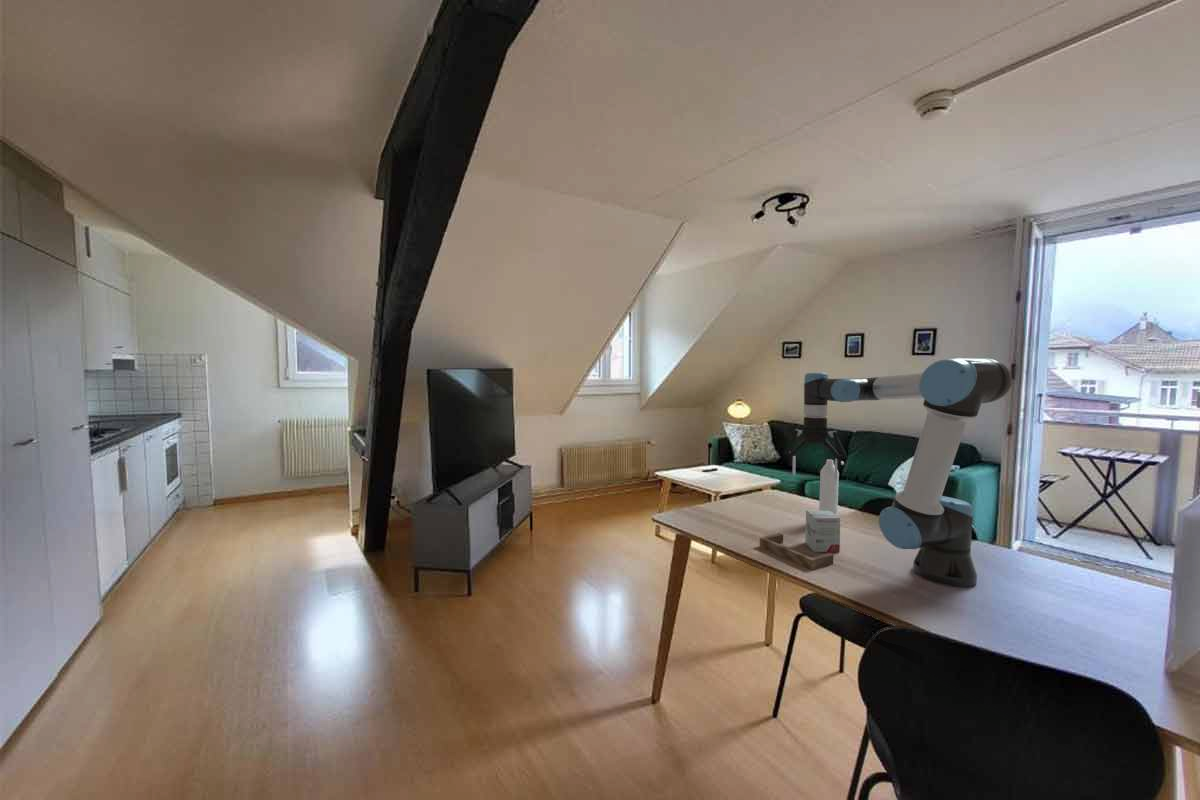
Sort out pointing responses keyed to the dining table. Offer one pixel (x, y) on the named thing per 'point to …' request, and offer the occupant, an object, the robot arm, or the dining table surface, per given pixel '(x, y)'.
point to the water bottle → (829, 488)
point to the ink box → (822, 531)
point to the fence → (794, 553)
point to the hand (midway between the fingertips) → (814, 476)
